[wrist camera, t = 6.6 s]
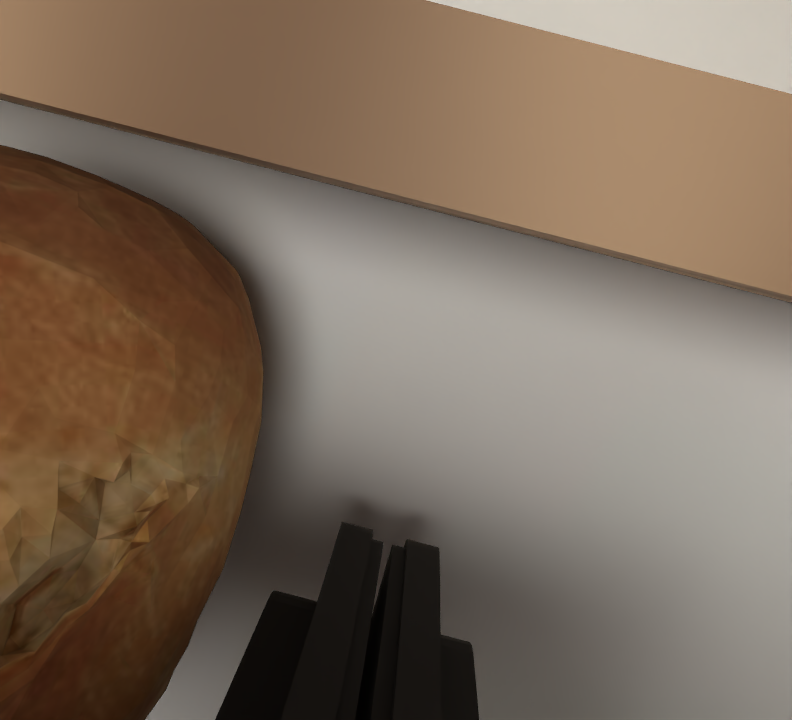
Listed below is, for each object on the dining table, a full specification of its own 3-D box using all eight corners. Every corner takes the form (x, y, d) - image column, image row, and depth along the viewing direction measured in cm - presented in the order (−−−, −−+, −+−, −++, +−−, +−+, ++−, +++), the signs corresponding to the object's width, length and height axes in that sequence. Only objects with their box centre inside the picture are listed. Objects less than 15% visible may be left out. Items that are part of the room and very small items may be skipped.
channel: (912, 229, 9) (1366, 241, 5) (581, 944, 13) (656, 1315, 9) (-213, -59, 9) (-821, -320, 5) (-201, 741, 13) (-523, 1007, 9)
